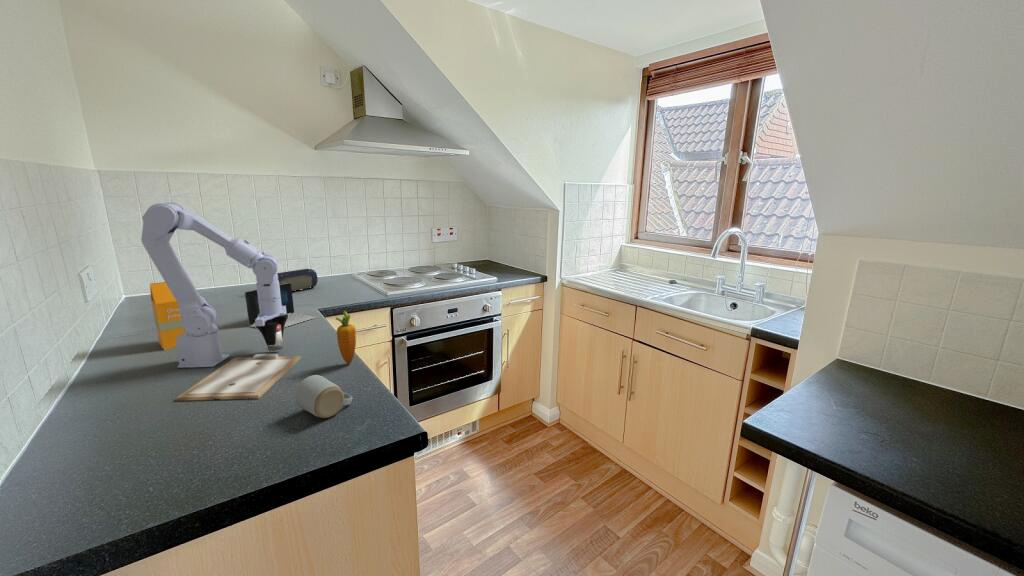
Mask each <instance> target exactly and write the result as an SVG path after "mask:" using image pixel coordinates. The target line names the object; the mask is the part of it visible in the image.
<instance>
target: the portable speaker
mask: <svg viewBox="0 0 1024 576" xmlns="http://www.w3.org/2000/svg"><path fill="white" fill-rule="evenodd" d="M277 275H278V281H279V285H281V284H285V283H291V288H292V291H295V290H300V289H305V288H310V287H314V286H315V287H316V286H317V284H318V279H319V278H318V275H317V272H316V270H314V269H312V268H303V269H301V268H300V269H297V270H290V271H283V272H277ZM315 287H314V288H315Z"/></svg>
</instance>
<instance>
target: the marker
mask: <svg viewBox="0 0 1024 576" xmlns="http://www.w3.org/2000/svg"><path fill="white" fill-rule="evenodd" d="M266 345H267V344H266ZM283 348H284V343H283V338H282V333H281V324H278V325H277V329H276V343H275V345H267V351H270V352H273V351H274V352H275V351H276V352H277V351H279V350H282V349H283Z"/></svg>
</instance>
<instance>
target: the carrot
mask: <svg viewBox="0 0 1024 576" xmlns="http://www.w3.org/2000/svg"><path fill="white" fill-rule="evenodd" d="M342 315H343V316H342V318H340V317H337V316H336V317H335V320H337V321H338V322H339V323H341V325H339V326H338V327H337V329H336V337H337V344H338V348H339V351H340V354H341V357H342V359H343V360H344V362H345V363H346V364H348V365H350V364H351V363H352V361H353V359H354V356H355V353H356V347H357V331H356V330H357V328H356V326H355V325H354V324H353V325H352V324H350V319H351V314H348V312H347V311H343V312H342Z"/></svg>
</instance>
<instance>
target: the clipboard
mask: <svg viewBox="0 0 1024 576" xmlns="http://www.w3.org/2000/svg"><path fill="white" fill-rule="evenodd" d="M301 359H302V356H301V355H292V356H291V355H290V356H289V355H288V356H284V355H283V356H279V353H256V354H254V355H253V356H248V357H247V356H242V357H234V358H232V359H231V360H229V361H228V362H227V363H225V364H223V365H222V366H220V367H219V368H217V369H216V370H215V371H213V372H212V373H210V374H209V375H207V376H205V377H204V378H203V379H202V380H200V381H198V382H197V383H195V384H194V385H193V386H191V387H190V388H188V389H187V390H185V391H184V392H182V393H181V394H179V395H178V396H176V401H177V402H179V401H180V402H182V401H210V400H212V401H213V400H214V399H220V400H246V399H248V398H249V399H251V398H252V399H260V398H261V397H262V396H263V395H264V394H265V393H266V392H267V391H268V390H269V389H271V387H273V385H275V382H276V383H277V381H279V380H280V379H281V378H282V377H283V376H284V375H285V374H286V373H288V371H290V370H291V368H293V367H294V366H295V365H296V364H297V363H298V362H299V361H300V360H301ZM249 399H248V400H249ZM252 399H251V400H252Z"/></svg>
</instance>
